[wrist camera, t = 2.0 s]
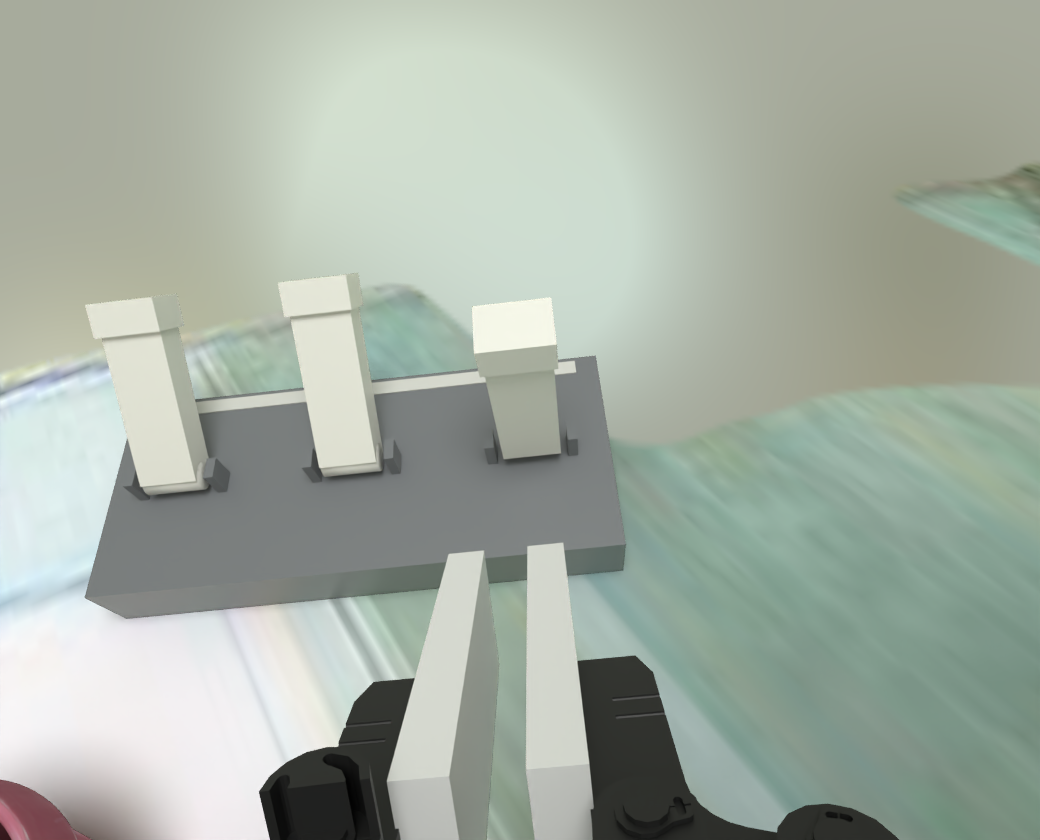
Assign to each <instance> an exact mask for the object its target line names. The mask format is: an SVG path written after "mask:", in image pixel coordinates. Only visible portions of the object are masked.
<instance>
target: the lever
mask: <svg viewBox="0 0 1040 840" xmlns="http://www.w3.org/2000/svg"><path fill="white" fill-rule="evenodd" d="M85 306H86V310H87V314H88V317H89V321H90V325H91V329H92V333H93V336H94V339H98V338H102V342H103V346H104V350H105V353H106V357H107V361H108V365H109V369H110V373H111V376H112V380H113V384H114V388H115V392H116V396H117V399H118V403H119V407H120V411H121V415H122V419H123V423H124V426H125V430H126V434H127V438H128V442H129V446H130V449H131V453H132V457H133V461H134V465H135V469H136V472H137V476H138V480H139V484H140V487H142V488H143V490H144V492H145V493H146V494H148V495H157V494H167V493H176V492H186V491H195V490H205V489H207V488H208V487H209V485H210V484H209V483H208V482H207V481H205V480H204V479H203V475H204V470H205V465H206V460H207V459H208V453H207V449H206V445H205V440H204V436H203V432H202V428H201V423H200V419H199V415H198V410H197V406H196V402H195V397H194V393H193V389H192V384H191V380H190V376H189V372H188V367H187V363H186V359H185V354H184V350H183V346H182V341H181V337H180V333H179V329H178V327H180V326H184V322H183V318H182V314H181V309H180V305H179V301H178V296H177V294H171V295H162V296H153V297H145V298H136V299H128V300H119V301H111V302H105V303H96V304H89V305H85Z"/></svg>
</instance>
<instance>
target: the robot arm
mask: <svg viewBox="0 0 1040 840" xmlns="http://www.w3.org/2000/svg"><path fill="white" fill-rule="evenodd" d="M498 677H499V658H498V651H497V643H496V636H495V628H494V621H493V613H492V606H491V598H490V591H489V583H488V576H487V568H486V561H485V553H484V550H483V551H473V552H463V553H453V554H449V555H448V558H447V562H446V566H445V569H444V573H443V577H442V580H441V584H440V588H439V591H438V595H437V599H436V602H435V606H434V610H433V613H432V617H431V621H430V624H429V628H428V632H427V635H426V639H425V643H424V647H423V650H422V654H421V658H420V661H419V665H418V669H417V672H416V676H415V678H412V679H401V680H390V681H379V682H373V683H372V684H371V685H370V686H369V687H368V688H367V690H366V691H365V692H364V693H363V694H362V695H361V696H360V697H359V698H358V699H357V700H356V701H355V702H354V704H353V707H352V709H351V712H350V715H349V717H348V720H347V722H346V728H344V730H343V732H342V735H341V737H340V740H339V746H338V747H326V748H322V749H318V750H314V751H310V752H306V753H304V754H302V755H300V756H298V757H296V758H294V759H292V760H290V761H288V762H286V763H285V764H284V765H283V766H282V767H280V768H279V769H278V770H277V771H276V772H274V773H273V774H272V775H271V776H270V777H269V778H268V780H267V781H266V783H265V784H264V785H263V787H262V788H261V790H260V791H259V794H260V798H261V803H262V807H263V811H264V816H265V820H266V824H267V828H268V833H269V837H270V840H486V839H487V826H488V812H489V799H490V785H491V772H492V758H493V745H494V731H495V718H496V704H497V691H498ZM526 775H527V782H528V790H529V798H530V806H531V814H532V821H533V829H534V837H535V840H899V839H898V838H897V837H896V836H895V835H893V834H892V833H891V832H890V831H889V830H888V829H886V828H885V827H884V826H883V825H882V824H880V823H879V822H878V821H877V820H875V819H873V818H871V817H869V816H867V815H865V814H863V813H860V812H858V811H856V810H854V809H851V808H847V807H842V806H837V805H832V804H819V805H806V806H804V807H802V808H799V809H797V810H795V811H793V812H791V813H789V814H788V815H787V816H786V817H785V819H784V820H783V821H782V823H781V824H780V825H779V827H778V830H777V833H775V832H770V831H764V830H759V829H754V828H748V827H744V826H741V825H737V824H734V823H730V822H728V821H726V820H724V819H721V818H719V817H717V816H715V815H713V814H712V813H711V812H709V811H708V810H707V809H705V808H704V807H703V806H701V805H700V804H699V803H698V801H697V799H696V797H695V796H694V795H692V794H691V793H690V791H689V788H688V786H687V784H686V782H685V779H684V775H683V772H682V769H681V765H680V762H679V759H678V755H677V752H676V748H675V745H674V742H673V738H672V735H671V732H670V728H669V725H668V721H667V718H666V715H665V713H664V708H663V705H662V701H661V698H660V696H659V691H658V688H657V684H656V681H655V678H654V674H653V672H652V671H651V670H650V669H649V668H648V667H647V666H646V665H645V664H644V663H643V662H642V661H640V660H639V659H638V658H637V657H636V656H626V657H615V658H604V659H593V660H582V661H577V655H576V647H575V638H574V630H573V621H572V613H571V604H570V596H569V587H568V579H567V570H566V562H565V553H564V545H563V543H554V544H544V545H534V546H527V680H526Z"/></svg>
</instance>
